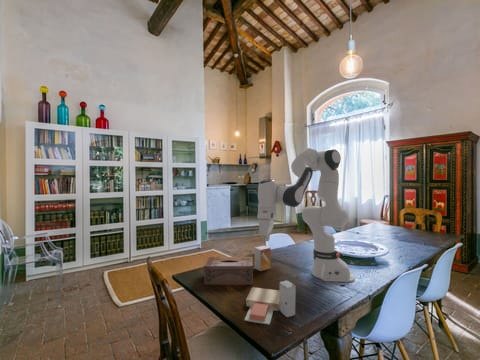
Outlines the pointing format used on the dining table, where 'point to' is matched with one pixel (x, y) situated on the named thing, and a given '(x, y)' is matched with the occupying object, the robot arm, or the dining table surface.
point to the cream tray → (263, 297)
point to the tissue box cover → (228, 271)
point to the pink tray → (259, 311)
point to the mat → (267, 320)
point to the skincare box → (287, 298)
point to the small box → (262, 258)
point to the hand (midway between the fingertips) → (267, 240)
